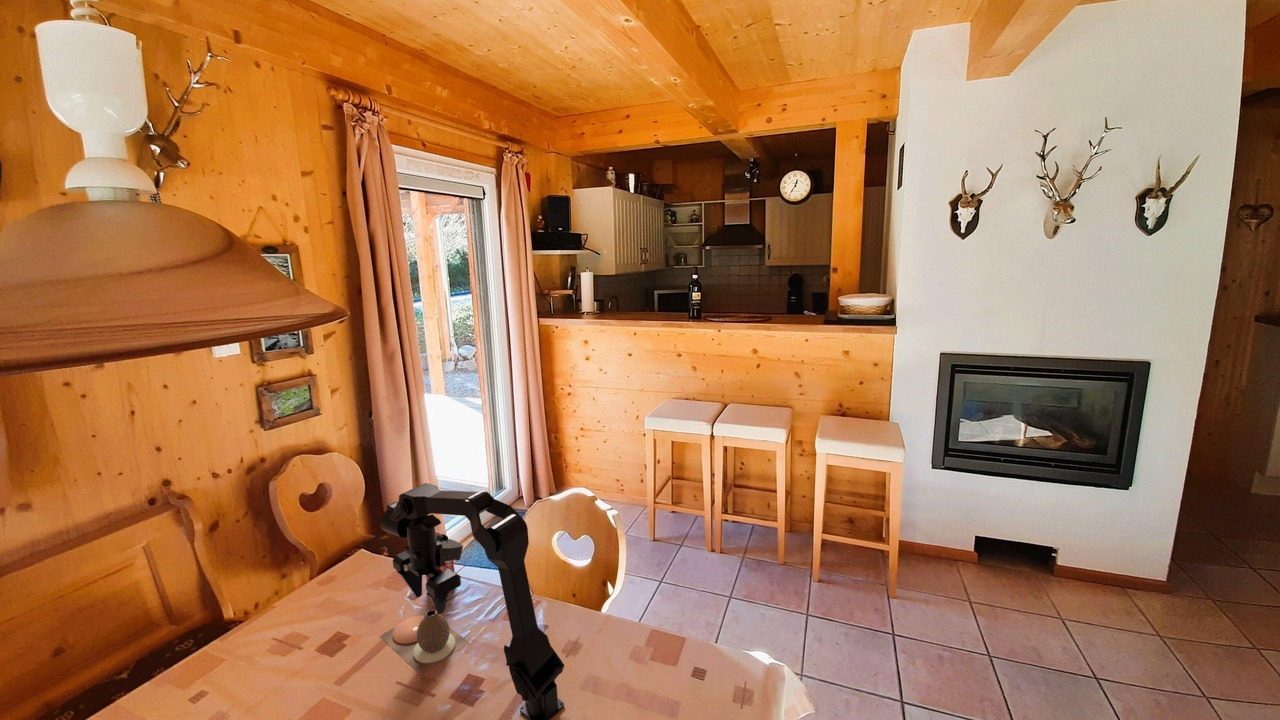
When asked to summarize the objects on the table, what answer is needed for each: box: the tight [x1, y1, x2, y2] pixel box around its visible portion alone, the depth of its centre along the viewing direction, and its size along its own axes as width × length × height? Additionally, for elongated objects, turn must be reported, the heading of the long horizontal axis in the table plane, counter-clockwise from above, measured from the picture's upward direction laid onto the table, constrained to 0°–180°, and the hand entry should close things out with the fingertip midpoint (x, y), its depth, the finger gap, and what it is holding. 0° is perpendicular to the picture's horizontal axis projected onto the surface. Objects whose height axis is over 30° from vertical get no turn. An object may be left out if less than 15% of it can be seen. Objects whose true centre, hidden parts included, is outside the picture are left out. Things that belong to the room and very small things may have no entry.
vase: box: [417, 609, 450, 653], centre depth 118 cm, size 7×7×9 cm
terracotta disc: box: [393, 615, 424, 644], centre depth 125 cm, size 9×9×1 cm
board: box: [378, 608, 470, 676], centre depth 122 cm, size 19×12×1 cm, turn 51°
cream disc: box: [413, 633, 456, 664], centre depth 119 cm, size 9×9×1 cm
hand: (429, 604), depth 117 cm, fingers open, 9 cm apart
